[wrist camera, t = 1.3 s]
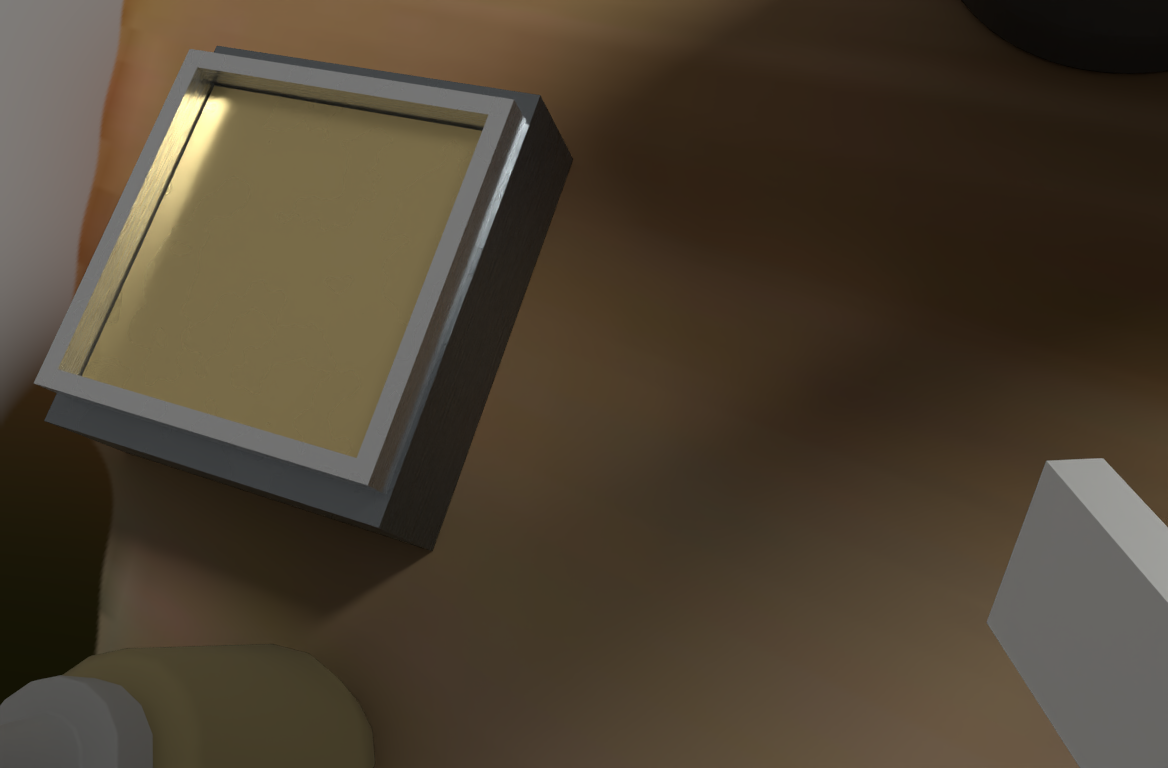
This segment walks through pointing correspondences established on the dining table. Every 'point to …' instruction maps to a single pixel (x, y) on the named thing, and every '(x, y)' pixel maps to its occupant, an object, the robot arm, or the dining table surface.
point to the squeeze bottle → (188, 712)
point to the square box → (312, 283)
